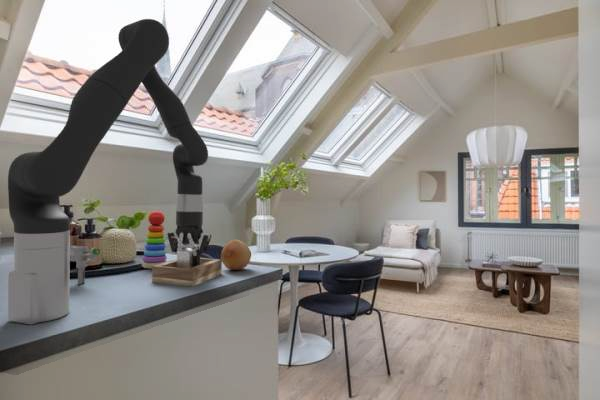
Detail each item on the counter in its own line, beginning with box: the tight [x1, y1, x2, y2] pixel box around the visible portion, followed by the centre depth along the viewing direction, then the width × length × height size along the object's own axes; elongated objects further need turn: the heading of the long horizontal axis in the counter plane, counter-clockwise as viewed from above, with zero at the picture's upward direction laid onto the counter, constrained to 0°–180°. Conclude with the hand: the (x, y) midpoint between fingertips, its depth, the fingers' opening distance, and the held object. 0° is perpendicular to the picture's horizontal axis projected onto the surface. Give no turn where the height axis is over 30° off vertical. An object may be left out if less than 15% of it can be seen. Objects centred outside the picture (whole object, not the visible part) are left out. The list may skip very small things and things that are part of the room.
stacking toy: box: [141, 210, 168, 269], centre depth 121 cm, size 8×8×19 cm
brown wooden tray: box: [151, 257, 223, 287], centre depth 107 cm, size 16×13×4 cm
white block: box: [176, 247, 194, 269], centre depth 107 cm, size 6×4×6 cm, turn 164°
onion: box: [220, 239, 252, 271], centre depth 120 cm, size 10×10×10 cm
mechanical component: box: [70, 245, 101, 285], centre depth 98 cm, size 3×10×10 cm, turn 79°
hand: (188, 267), depth 107 cm, fingers closed on white block, 4 cm apart
